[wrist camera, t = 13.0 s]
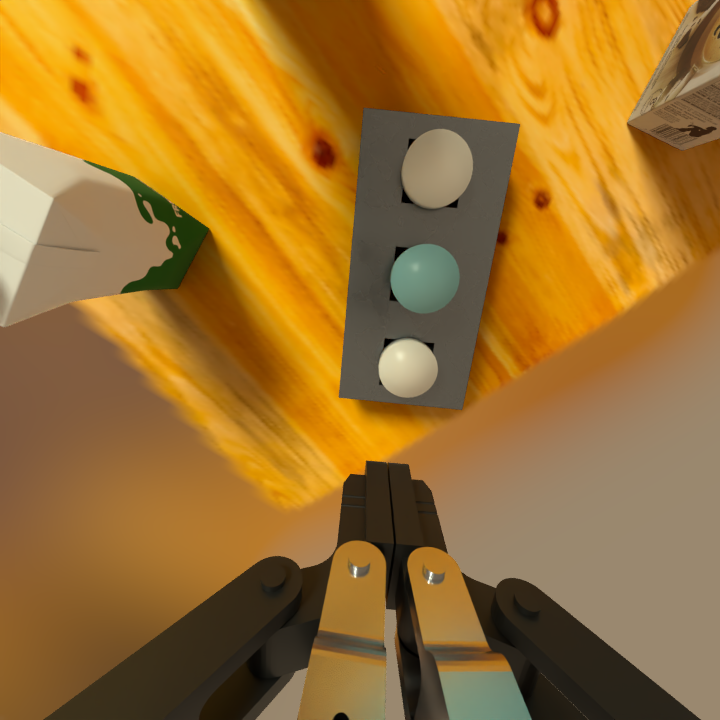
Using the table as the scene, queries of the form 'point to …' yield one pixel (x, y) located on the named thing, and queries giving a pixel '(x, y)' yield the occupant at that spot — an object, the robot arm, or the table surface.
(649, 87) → the coffee box
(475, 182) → the socket strip
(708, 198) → the table surface
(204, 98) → the table surface
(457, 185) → the ivory plug
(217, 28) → the table surface
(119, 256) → the milk carton
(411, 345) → the ivory plug
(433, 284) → the plug teal
